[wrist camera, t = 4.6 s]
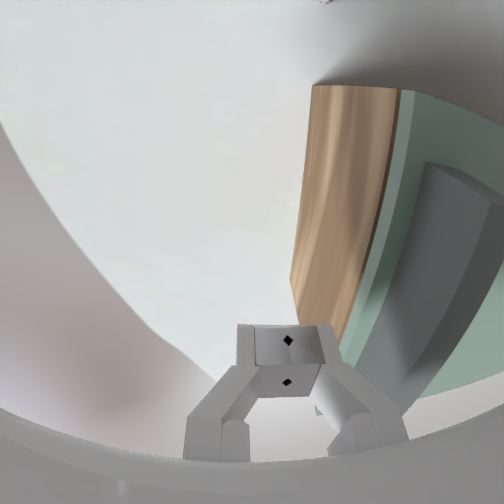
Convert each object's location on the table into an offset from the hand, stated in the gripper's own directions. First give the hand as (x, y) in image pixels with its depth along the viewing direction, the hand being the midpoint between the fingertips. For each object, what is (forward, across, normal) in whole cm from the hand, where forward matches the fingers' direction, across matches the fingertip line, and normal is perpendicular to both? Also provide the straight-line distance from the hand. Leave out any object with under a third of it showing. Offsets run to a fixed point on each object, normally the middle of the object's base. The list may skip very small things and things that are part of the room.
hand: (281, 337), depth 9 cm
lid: (+2, -14, 0) cm, 14 cm away
